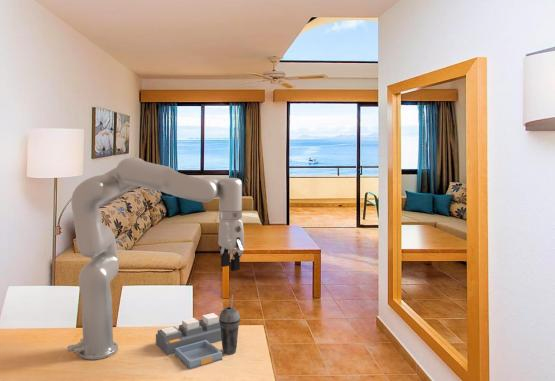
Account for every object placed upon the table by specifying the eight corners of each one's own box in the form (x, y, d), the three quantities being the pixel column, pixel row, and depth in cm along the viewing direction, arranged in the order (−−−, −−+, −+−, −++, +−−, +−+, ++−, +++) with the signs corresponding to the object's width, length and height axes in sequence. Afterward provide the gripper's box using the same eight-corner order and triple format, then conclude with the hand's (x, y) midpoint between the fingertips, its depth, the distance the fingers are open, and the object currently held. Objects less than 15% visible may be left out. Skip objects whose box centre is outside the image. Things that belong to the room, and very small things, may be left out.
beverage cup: (214, 351, 160) (214, 295, 158) (230, 344, 165) (230, 290, 163) (228, 358, 155) (228, 300, 153) (244, 351, 160) (244, 295, 158)
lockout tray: (190, 369, 148) (190, 362, 147) (174, 355, 157) (174, 348, 157) (222, 359, 154) (222, 352, 154) (205, 346, 164) (205, 339, 163)
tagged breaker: (166, 340, 159) (166, 333, 159) (161, 335, 162) (161, 329, 162) (178, 337, 161) (178, 330, 161) (172, 332, 165) (172, 326, 165)
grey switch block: (167, 355, 157) (166, 332, 156) (155, 344, 165) (155, 323, 164) (224, 339, 170) (224, 318, 169) (211, 330, 178) (211, 310, 177)
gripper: (254, 217, 151) (253, 272, 153) (227, 210, 164) (227, 261, 166) (234, 220, 146) (233, 276, 148) (208, 212, 160) (208, 264, 162)
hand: (230, 267), depth 157 cm, fingers open, 5 cm apart
